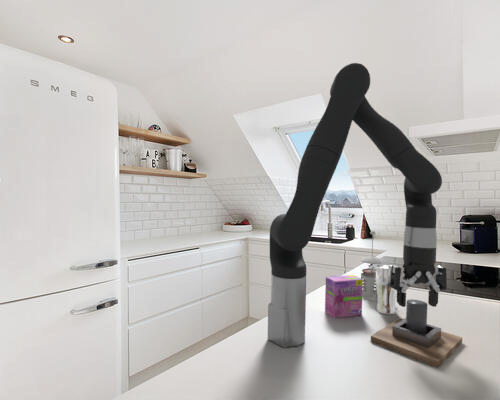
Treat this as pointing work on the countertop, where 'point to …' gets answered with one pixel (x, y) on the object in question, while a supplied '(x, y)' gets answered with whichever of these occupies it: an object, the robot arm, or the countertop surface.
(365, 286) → the french press
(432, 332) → the mount
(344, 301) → the box
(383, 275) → the beer glass
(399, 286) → the robot arm
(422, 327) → the grey rounded cylinder
